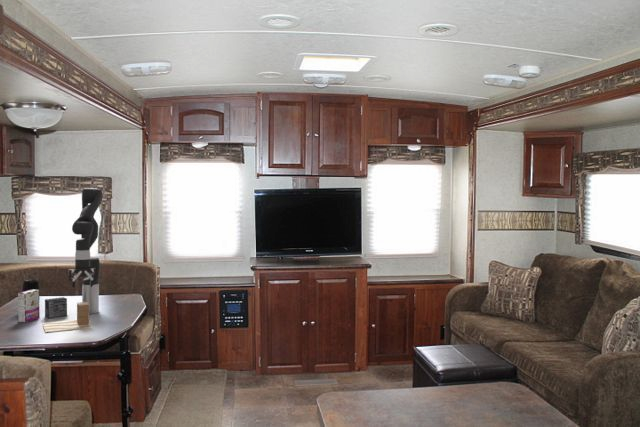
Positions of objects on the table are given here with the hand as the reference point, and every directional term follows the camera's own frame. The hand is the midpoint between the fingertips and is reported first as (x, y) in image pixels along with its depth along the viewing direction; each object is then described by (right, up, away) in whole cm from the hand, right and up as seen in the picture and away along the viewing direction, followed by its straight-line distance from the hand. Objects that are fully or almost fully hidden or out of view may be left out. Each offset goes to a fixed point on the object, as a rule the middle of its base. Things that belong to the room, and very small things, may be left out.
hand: (82, 287), depth 292 cm
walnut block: (0, -20, +1) cm, 20 cm away
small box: (-24, -20, +18) cm, 36 cm away
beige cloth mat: (-7, -21, -3) cm, 22 cm away
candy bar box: (-34, -20, +9) cm, 40 cm away
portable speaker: (-44, -19, +29) cm, 56 cm away
